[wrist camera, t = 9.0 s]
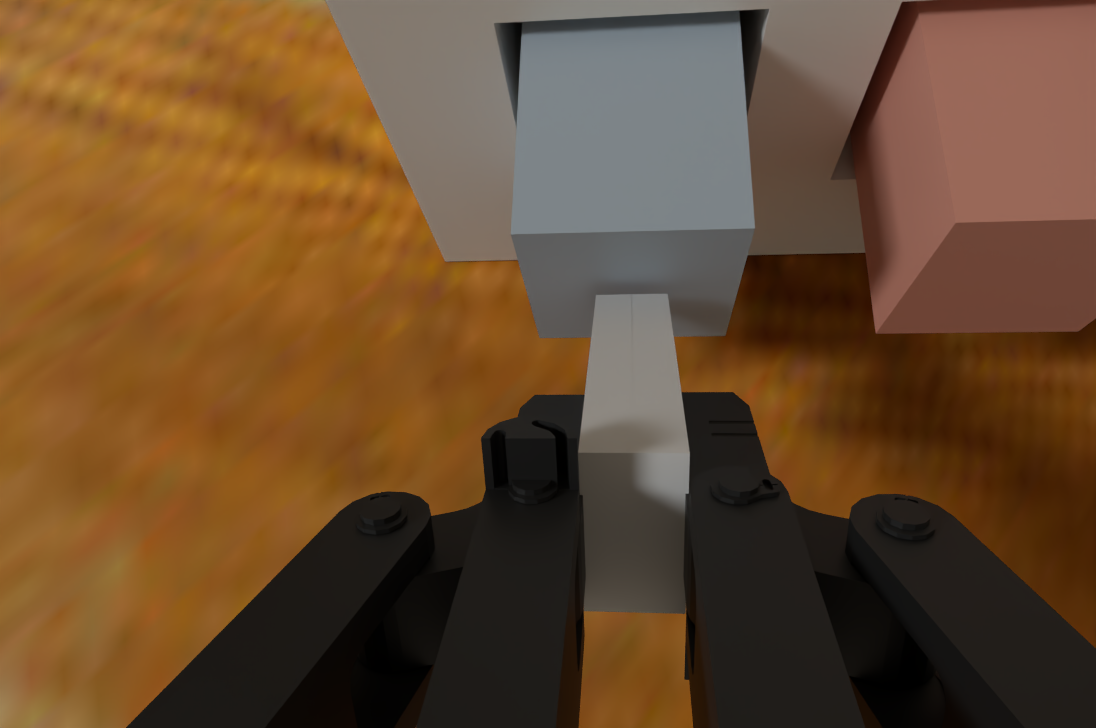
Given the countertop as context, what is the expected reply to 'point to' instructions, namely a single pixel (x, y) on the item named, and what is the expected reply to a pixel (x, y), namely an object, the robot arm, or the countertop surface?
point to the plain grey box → (504, 3)
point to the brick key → (981, 168)
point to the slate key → (632, 167)
